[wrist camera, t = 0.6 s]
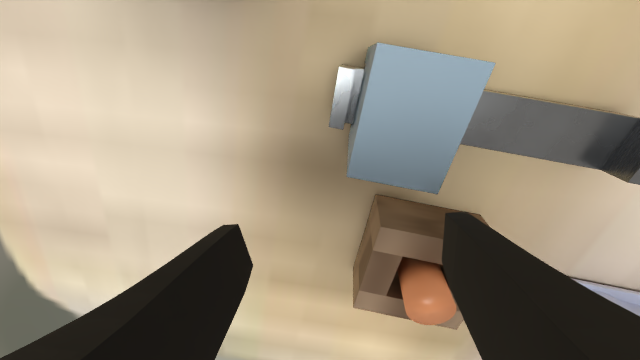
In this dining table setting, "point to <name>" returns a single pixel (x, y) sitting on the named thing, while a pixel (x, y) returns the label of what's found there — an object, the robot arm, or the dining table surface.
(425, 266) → the gauge button
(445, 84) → the block
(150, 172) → the dining table surface
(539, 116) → the rail
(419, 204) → the square wooden frame
